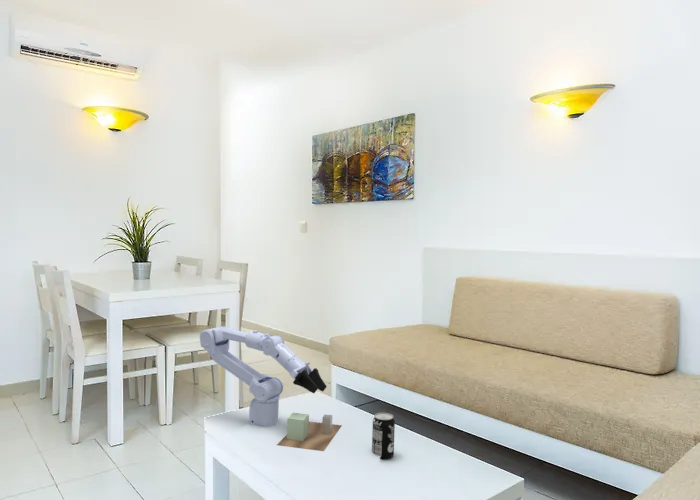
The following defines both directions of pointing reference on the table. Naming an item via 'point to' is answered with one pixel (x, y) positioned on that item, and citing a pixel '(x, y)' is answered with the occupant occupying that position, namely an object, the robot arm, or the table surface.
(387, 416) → the beverage can
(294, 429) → the green slotted cube
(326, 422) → the post
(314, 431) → the board
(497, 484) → the table surface
